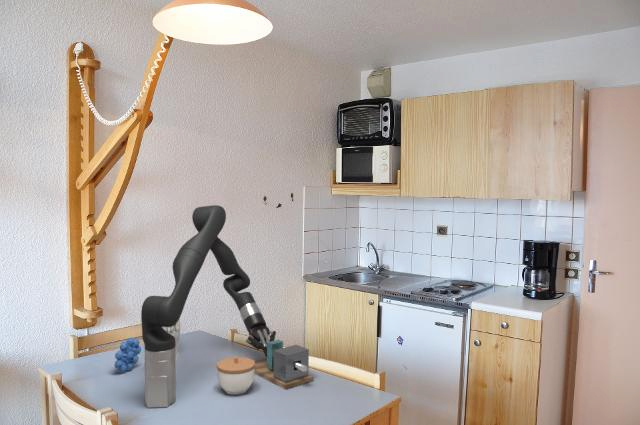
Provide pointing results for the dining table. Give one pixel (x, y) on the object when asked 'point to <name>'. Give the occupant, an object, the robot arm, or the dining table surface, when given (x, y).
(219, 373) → the lidded bowl
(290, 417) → the dining table surface
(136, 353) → the grapes
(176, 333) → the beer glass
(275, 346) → the shaft
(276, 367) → the block
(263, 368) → the base board
